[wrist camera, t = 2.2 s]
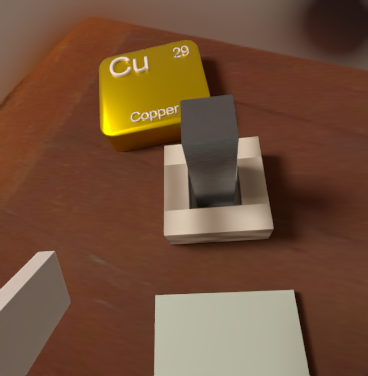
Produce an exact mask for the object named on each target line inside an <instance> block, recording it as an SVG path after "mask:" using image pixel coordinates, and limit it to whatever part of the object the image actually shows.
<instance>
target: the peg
mask: <svg viewBox="0 0 368 376" xmlns="http://www.w3.org/2000/svg"><path fill="white" fill-rule="evenodd" d="M180 109H181V144H182V148H183V152H184V156H185V160H186V164H187V168H188V171H189V175H190V179H191V183H192V187H193V191H194V195H195V199H196V203H197V206H198V209H199V208H213V207H226V206H234V193H235V180H236V168H237V155H238V142H239V136H238V129H237V121H236V114H235V107H234V99H233V94H230V95H222V96H214V97H205V98H197V99H188V100H180Z"/></svg>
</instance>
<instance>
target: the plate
mask: <svg viewBox="0 0 368 376" xmlns="http://www.w3.org/2000/svg"><path fill="white" fill-rule="evenodd" d="M154 376H309V371H308V365H307V360H306V354H305V349H304V344H303V338H302V333H301V327H300V322H299V317H298V311H297V306H296V300H295V295H294V290H281V291H255V292H229V293H203V294H177V295H156V299H155V362H154Z"/></svg>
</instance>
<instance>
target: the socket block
mask: <svg viewBox="0 0 368 376" xmlns="http://www.w3.org/2000/svg"><path fill="white" fill-rule="evenodd" d="M273 229H274V228H273V222H272V216H271V210H270V204H269V198H268V193H267V187H266V181H265V175H264V169H263V163H262V158H261V152H260V146H259V140H258V137H249V138H239V142H238V155H237V168H236V180H235V193H234V206H226V207H213V208H199V209H198V206H197V203H196V199H195V195H194V191H193V187H192V183H191V179H190V175H189V171H188V168H187V164H186V160H185V156H184V152H183V148H182V144H179V145H169V146H164V236H165V238H166V239H167V240H168V241H169V243H170V244H171V245H173V244H190V243H207V242H223V241H240V240H257V239H268V238H269V236H270V234H271V233H272V231H273Z"/></svg>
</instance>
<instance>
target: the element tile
mask: <svg viewBox="0 0 368 376" xmlns="http://www.w3.org/2000/svg"><path fill="white" fill-rule="evenodd" d="M99 94H100V128H101V131H102V133H103V134H104V136H105V137H106V139H107V140H108V142H109V143H110V145H111V146H112V148H113V149H114V150H116V151H119V152H127V151H131V150H136V149H141V148H146V147H151V146H156V145H161V144H165V143H170V142H175V141H180V140H181V109H180V100H188V99H197V98H205V97H210V93H209V89H208V85H207V81H206V77H205V73H204V69H203V65H202V61H201V57H200V53H199V49H198V46H197V45H196V44H195V43H194V42H192V41H191V40H183V41H178V42H174V43H169V44H165V45H160V46H156V47H152V48H147V49H143V50H139V51H134V52H130V53H125V54H121V55H117V56H112V57H109V58H107V59H105V60H103V61H102V63H101V65H100V67H99Z"/></svg>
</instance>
